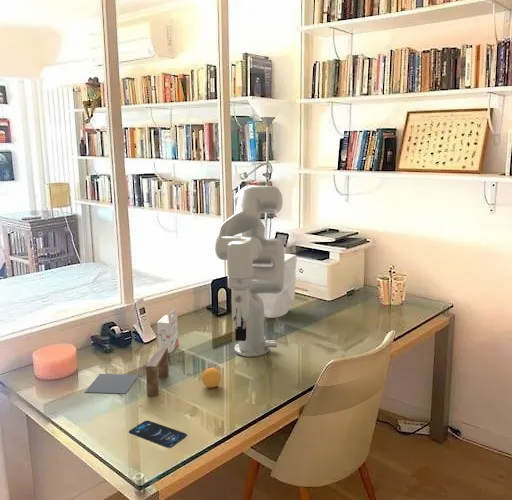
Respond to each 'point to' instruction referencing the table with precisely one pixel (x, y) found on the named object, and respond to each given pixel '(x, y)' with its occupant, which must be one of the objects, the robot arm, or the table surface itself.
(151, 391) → the bridge
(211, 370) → the ball
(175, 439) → the smartphone
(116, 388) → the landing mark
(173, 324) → the ink cartridge box
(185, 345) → the table surface
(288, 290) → the white curved block
